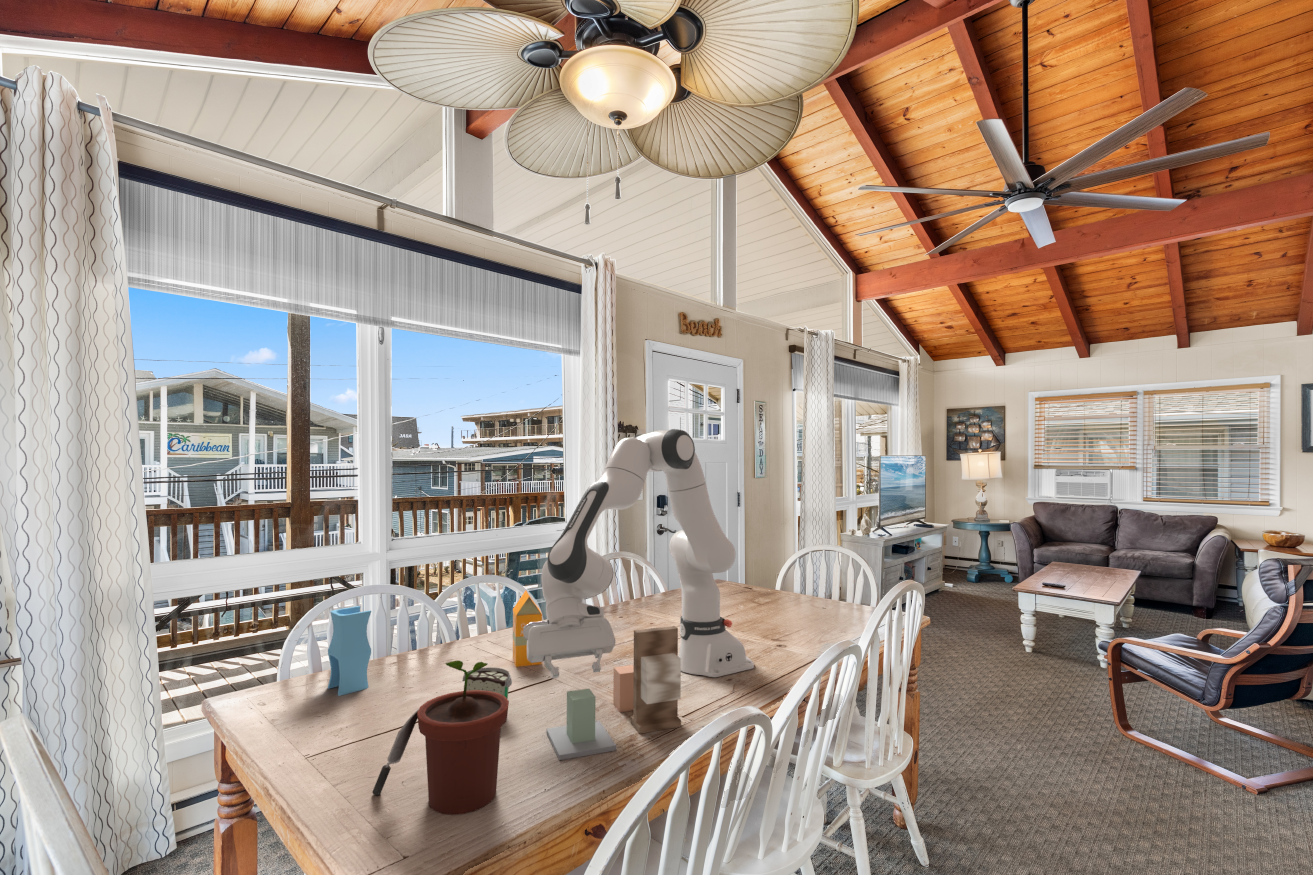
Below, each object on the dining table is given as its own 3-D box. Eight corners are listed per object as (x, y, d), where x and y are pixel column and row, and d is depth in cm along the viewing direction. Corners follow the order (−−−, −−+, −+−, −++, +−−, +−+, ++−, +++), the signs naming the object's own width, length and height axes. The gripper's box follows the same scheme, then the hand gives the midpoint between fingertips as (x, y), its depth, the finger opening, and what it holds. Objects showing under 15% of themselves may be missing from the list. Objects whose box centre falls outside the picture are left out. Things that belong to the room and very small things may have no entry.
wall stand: (670, 715, 146) (671, 623, 147) (684, 730, 139) (684, 632, 139) (630, 722, 143) (630, 627, 143) (642, 737, 135) (642, 637, 136)
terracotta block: (632, 701, 155) (632, 664, 155) (639, 708, 150) (639, 671, 151) (613, 704, 153) (613, 667, 154) (619, 711, 149) (619, 673, 149)
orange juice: (538, 654, 190) (538, 588, 191) (542, 664, 182) (542, 595, 182) (511, 657, 188) (512, 590, 188) (514, 666, 179) (515, 597, 180)
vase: (370, 687, 163) (371, 610, 164) (338, 695, 158) (340, 616, 158) (358, 679, 169) (359, 605, 169) (327, 687, 163) (328, 610, 163)
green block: (589, 729, 137) (589, 688, 137) (595, 739, 132) (595, 696, 132) (566, 733, 135) (566, 691, 135) (572, 743, 130) (572, 699, 130)
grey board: (599, 724, 142) (599, 720, 142) (616, 750, 130) (616, 745, 130) (546, 732, 137) (546, 728, 137) (559, 760, 125) (559, 755, 125)
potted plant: (444, 838, 100) (446, 680, 100) (370, 794, 112) (372, 654, 113) (527, 790, 114) (528, 652, 115) (454, 756, 127) (455, 632, 127)
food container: (521, 712, 148) (522, 669, 148) (507, 723, 142) (507, 678, 142) (477, 705, 152) (478, 664, 152) (461, 715, 146) (462, 672, 147)
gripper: (523, 615, 142) (531, 673, 133) (609, 607, 149) (622, 661, 140) (520, 630, 146) (527, 687, 137) (604, 621, 153) (616, 674, 144)
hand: (576, 673), depth 138 cm, fingers open, 8 cm apart
